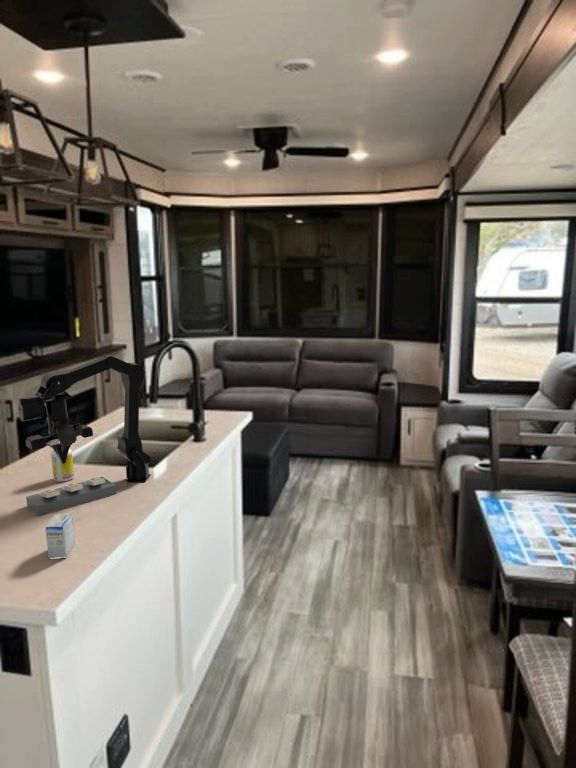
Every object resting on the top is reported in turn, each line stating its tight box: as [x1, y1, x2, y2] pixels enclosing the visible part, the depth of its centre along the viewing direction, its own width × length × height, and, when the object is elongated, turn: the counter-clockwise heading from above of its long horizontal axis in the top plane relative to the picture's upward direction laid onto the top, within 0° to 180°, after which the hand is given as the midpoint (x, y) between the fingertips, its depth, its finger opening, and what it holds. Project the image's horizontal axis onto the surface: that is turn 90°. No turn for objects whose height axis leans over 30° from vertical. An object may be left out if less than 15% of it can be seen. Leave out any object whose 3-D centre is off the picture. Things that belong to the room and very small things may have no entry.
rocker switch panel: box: [25, 476, 117, 517], centre depth 176 cm, size 24×10×4 cm, turn 131°
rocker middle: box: [63, 482, 83, 492], centre depth 175 cm, size 6×4×1 cm, turn 41°
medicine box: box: [45, 513, 76, 559], centre depth 143 cm, size 8×4×9 cm, turn 5°
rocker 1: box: [39, 488, 60, 498], centre depth 170 cm, size 6×4×1 cm, turn 41°
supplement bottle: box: [50, 441, 75, 483], centre depth 194 cm, size 7×7×13 cm
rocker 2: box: [85, 477, 106, 485], centre depth 179 cm, size 6×4×1 cm, turn 41°
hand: (63, 463), depth 177 cm, fingers closed
